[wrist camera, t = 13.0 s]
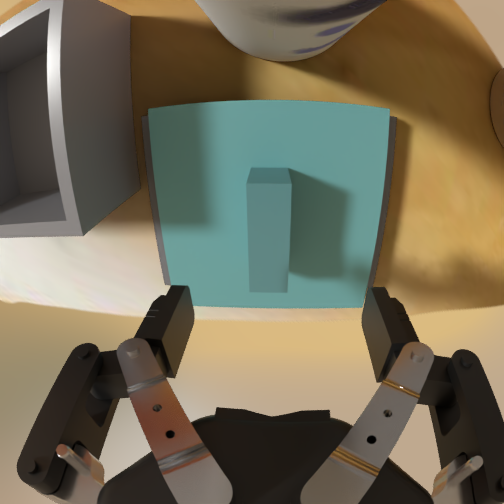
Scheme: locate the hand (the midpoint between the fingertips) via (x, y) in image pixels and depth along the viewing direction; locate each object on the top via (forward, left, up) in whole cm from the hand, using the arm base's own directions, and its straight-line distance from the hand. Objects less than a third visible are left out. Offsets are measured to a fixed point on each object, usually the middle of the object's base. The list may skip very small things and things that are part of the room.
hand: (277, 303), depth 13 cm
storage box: (+19, -9, -12) cm, 24 cm away
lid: (0, 0, -11) cm, 11 cm away
